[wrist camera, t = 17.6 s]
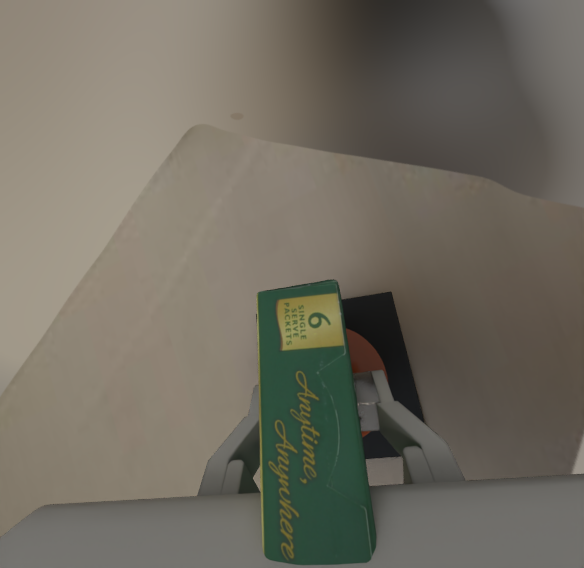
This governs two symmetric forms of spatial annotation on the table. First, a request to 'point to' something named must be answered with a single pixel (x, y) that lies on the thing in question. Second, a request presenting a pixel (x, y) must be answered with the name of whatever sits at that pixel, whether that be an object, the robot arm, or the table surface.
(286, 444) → the coffee box
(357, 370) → the stand
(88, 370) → the table surface
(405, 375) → the mat
